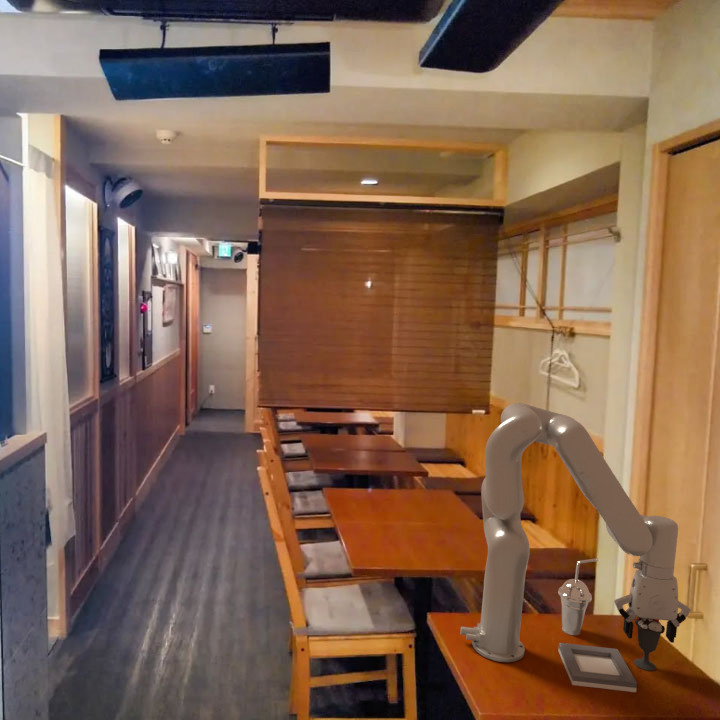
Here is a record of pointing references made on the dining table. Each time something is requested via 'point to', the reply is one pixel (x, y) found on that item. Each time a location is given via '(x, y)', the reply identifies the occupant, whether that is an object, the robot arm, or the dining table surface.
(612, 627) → the dining table surface
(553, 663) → the dining table surface
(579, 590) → the cup with straw
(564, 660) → the square picture frame
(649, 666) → the sundae
